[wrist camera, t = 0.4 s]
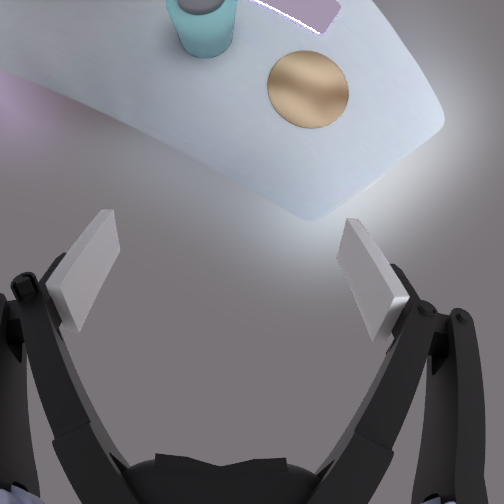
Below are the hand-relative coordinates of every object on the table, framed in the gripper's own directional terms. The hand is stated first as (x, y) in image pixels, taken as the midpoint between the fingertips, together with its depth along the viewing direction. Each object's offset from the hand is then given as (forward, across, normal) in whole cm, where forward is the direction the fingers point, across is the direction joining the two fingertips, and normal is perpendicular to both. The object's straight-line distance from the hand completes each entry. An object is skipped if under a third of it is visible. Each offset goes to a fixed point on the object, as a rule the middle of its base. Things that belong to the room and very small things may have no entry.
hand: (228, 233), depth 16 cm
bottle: (+27, -4, +14) cm, 31 cm away
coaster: (+26, +9, +8) cm, 29 cm away
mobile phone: (+29, +6, +22) cm, 37 cm away
